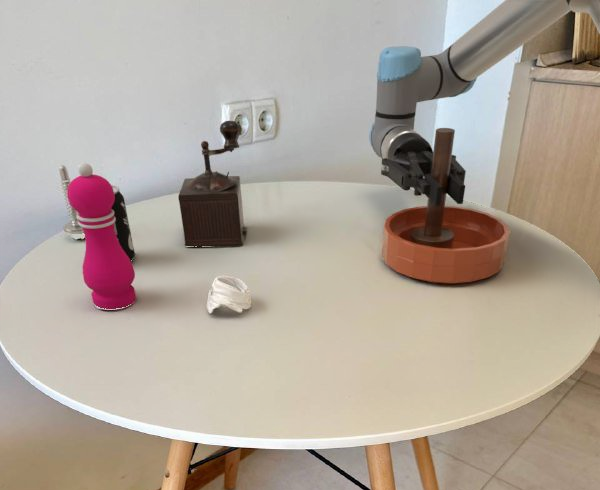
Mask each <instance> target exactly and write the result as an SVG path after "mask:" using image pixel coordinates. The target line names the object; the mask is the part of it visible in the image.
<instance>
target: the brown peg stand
mask: <svg viewBox="0 0 600 490" xmlns="http://www.w3.org/2000/svg"><path fill="white" fill-rule="evenodd" d="M455 133H456V130H455V128H449V127H438V128H436V129H435V133H434V141H433V142H434V143H433V149H432V150H433V159H432V168H431V176H432V177H433V178H434V179H435V180H436V181H437V182H438V183H439V184H440V185H441V186H442V187H443V188H442V196H441V204H440V205H435V204H434V203H433V202H432V201H431V200H430V199H429V198H428V197H427V202H426V203H427V204H426V206H427V211H426V220H425V226H422V227H418V228H415V229H413V230H412V232H411V239H410V242H413V243H416V244H419V245H425V246H430V247H435V248H450V249H451V248H452V246H453V239H454V233H453V232H452V231H450V230H449V229H446V228H443V227H442V224H443V216H444V209H445V206H446V200H447V195H448V194H447V186H448V179H449V171H450V164H451V156H452V155H453V147H454V141H455Z"/></svg>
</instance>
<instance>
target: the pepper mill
mask: <svg viewBox="0 0 600 490" xmlns="http://www.w3.org/2000/svg"><path fill="white" fill-rule="evenodd" d="M77 171H78V174H79V176H77V177H75V178H73V179H72V180H70V181H71V183H70V184H69V186H68V192H67V195H68V200H69V203H70V205H71V206H72V208H73V209H75V210H76V211H77V212H78V214H77V216H76V217H77V219H78V225H79V226H81V227H82V228H83V231H84V234H85V239H84V240H85V251H84V258H83V263H82V277H83V281H84V284H85V286H87V288H89V289H90V290H92V291H91V300H92V304H93V303H94V304H95V305H96V306H98V307H100V308H104V309H105V308H106V309H116V308H122V307H126V306H128V305H130V304H132V303H133V302H134V301H135V300H136V301H137V295H136V290H135V287H134V286H133V282H134V280H135V277H136V276H135V275H136V273H135V269H134V265H133V263H132V261H130V259H129V257H128V256H127V255H126V253H125V252H124V250H123V249H122V247H121V245H120V244H119V242H118V240H117V237H116V234H115V231H114V222H115V221H116V218H115V217H114V210H112V209H111V207H112V205H113V203H114V200H115V195H114V191H113V188H112V186H111V185H112V184H111V183H110V182H109V180H107V178H105V177H103V176H101V175H98V174H93V172H94V171H93V167H92V165H90V164H89V163H86V162H82V163H81V164H79V166H78V169H77ZM136 301H135V302H136ZM135 302H134V303H135ZM134 303H133V304H134ZM94 304H93V305H94ZM133 304H132V305H133Z"/></svg>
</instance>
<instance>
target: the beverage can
mask: <svg viewBox="0 0 600 490" xmlns="http://www.w3.org/2000/svg"><path fill="white" fill-rule="evenodd" d="M111 186H112V188H113V191H114V195H115V200H114V203H113V205H112V207H111V209H112V210H114V217H115V218H116V221H115V222H114V231H115V234H116V237H117V240H118V242H119V244H120V245H121V247H122V249H123V250H124V252H125V253H126V255H127V256H128V257H129V259H130V261H131V260H132V259H134V258H135V256H136V253H135V247H134V241H133V237H132V232H131V227H130V222H129V218H128V211H127V207H126V202H125V197H124V195H123V194H122V193H121V191H120V187H119V186H117V185H115V184H111ZM132 261H133V260H132ZM132 261H131V262H132Z"/></svg>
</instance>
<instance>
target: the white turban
mask: <svg viewBox="0 0 600 490" xmlns="http://www.w3.org/2000/svg"><path fill="white" fill-rule="evenodd" d="M211 287H212V288H211V289H210V290H209V291H208V294H207V302H206V309H207V312H208V314H210V315H213V313H214V310H216V308H217V309H218V308H220V307H225V308H229V309H231V310H233V311H235V312H237V313H240V314H241V313H242V312H243V310H249V309H250V308H251V307H252V299H251V296H252V292H251V290H250V289H249V286H248V285H247V284H246V283H245V282H244V281H242V280H241V279H239V278H238V277H234V276H229V275H218V276H216V277H215V278H214V279H213V283H212V284H211Z"/></svg>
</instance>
